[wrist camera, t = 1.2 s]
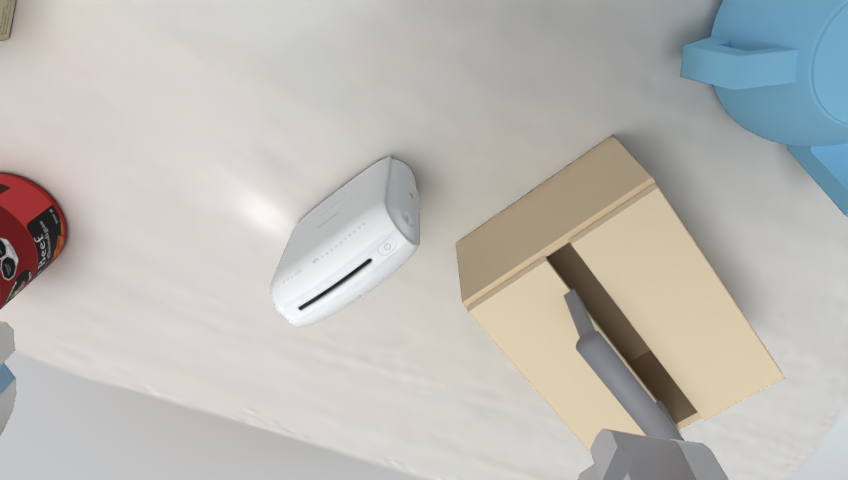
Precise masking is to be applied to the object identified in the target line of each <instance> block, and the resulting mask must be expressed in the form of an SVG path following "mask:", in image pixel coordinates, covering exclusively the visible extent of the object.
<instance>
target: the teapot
mask: <svg viewBox="0 0 848 480" xmlns="http://www.w3.org/2000/svg"><path fill="white" fill-rule="evenodd" d="M680 77H684V78H688V79H691V80H695V81H699V82H703V83H707V84H711V85H713V86H714V89H715V92H716V94H717V96H718V98H719V100H720V102H721V104H722V106H723V107H724V109H725V110H726V111H727V113H728V114H729V115H730V116H731V117H732V118H733V119H734V120H735V121H736V122H737V123H738V124H740V125H741V126H742V127H744V128H745V129H747V130H749V131H750V132H752V133H754V134H756V135H758V136H760V137H762V138H765V139H768V140H770V141H773V142H778V143H783V144H788V148H787V149H788V151H789V152H790V153H791V154H792V155H793V156H794V157H795V159H796V160H797V161H798V162H799V163H800V164H801V165H802V167H803V168H804V169H805V170H806V171H807V172H808V173H809V175H810V176H811V177H812V178H813V179H814V180H815V181H816V183H817V184H818V185H819V186H820V187H821V188H822V190H823V191H824V192H825V193H826V194H827V195H828V196H829V198H830V199H831V200H832V201H833V202H834V203H835V204H836V206H837V207H838V208H839V209H840V210H841V211H842V212H843V214H844V215H846V216H848V0H723V1H722V3H721V5H720V7H719V10H718V13H717V15H716V18H715V21H714V25H713V29H712V33H711V37H709V38H706V39H702V40H699V41H696V42H693V43H690V44H687V45H683V52H682V63H681V73H680Z"/></svg>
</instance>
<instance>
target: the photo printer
mask: <svg viewBox="0 0 848 480" xmlns="http://www.w3.org/2000/svg"><path fill="white" fill-rule="evenodd" d="M419 210H420V208H419V191H418V190H417V189H416V181H415V177H414V174H413V172H412V171H411V169H410V168H409V167H408V166H407V165H406V164H405V163H403V162H401V161H399V160H396V159H392V158H391V156H389V157H386V158H384V159H382V160H380V161H378V162H376V163H375V164H373V165H372V166H370V167H369V168H367V169H366V170H364V171H363V172H362V173H360V174H359V175H357V176H356V177H355V178H353V179H352V180H350V181H349V182H348V183H346V184H345V185H344V186H342V187H341V188H340V189H338V190H337V191H336V192H334V193H333V194H332V195H331V196H329V197H328V198H327V199H326V200H324V201H323V202H322V203H321V204H319V205H318V206H317V207H316V208H314V209H313V210H312V211H311V212H309V213H308V214H307V215H306V216H305V217H304V218H303V219H302V220H301V221H300V222H299V223H298V224H297V225H296V227H295V228H294V229H293V231H292V234H291V236H290V238H289V241H288V243H287V245H286V248H285V250H284V253H283V255H282V257H281V260H280V262H279V264H278V267H277V269H276V272H275V274H274V276H273V279H272V281H271V285H270V293H271V297H272V300H273V303H274V305H275V307H276V309H277V310H278V312H280V313H281V314H283V315H284V316H285V317H286V319H287V320H288V321H289V323H290V324H291V325H294V326H297V327H304V326H308V325H311V324H314V323H317V322H319V321H322V320H324V319H326V318H328V317H330V316H332V315H334V314H336V313H337V312H339V311H341V310H342V309H344V308H346V307H347V306H349V305H351V304H352V303H354V302H355V301H357V300H358V299H360V298H361V297H363V296H364V295H366V294H367V293H368V292H370V291H371V290H372V289H374V288H375V287H377V286H378V285H379V284H381V283H382V282H383V281H384V280H386V279H387V278H388V277H389V276H391V275H392V274H393V273H394V272H396V271H397V270H398V269H399V268H400V267H401V266H402V265H403V264H404V263H405V262H406V261H407V260H408V259H409V258H410V257H411V255H412V254H413V253H414V252H415V251H416V249H417V248H418V247H419V245H420V214H419V212H420V211H419Z"/></svg>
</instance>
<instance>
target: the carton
mask: <svg viewBox="0 0 848 480" xmlns="http://www.w3.org/2000/svg"><path fill="white" fill-rule="evenodd" d="M456 250H457V259H458V269H459V278H460V287H461V297H462V303H463V304H464V305H465V306H466V308H467V306H469V305H470V304H472V303H473V302H475V301H476V300H478V299H480V298H481V297H483V296H484V295H486V294H487V293H489V292H490V291H492V290H493V289H495V288H496V287H498V286H499V285H501V284H502V283H504V282H505V281H507V280H508V279H510V278H511V277H513V276H514V275H516V274H518V273H519V272H521V271H522V270H524V269H525V268H527V267H528V266H530V265H531V264H533V263H534V262H536V261H537V260H539V259H540V258H542V257H543V256H545V257H546V258H547V260H548V261H549V262H550V263H551V265H552V266H553V267H554V268H555V270H556V271H557V272H558V274H559V275H560V276H561V277H562V279H563V280H564V281H565V283H566V284H567V285H568V286H569V288H570V289H571V290H572V289H575V290H576V291H577V293H578V294H579V295H580V297H581V298H582V301H583V303H584V305H585V308H586V309H587V311H588V312H589V313H590V315H591V316H592V317H593V318H594V320H595V321H596V322H597V324H598V325H599V326H600V327H601V329H602V330H603V331H604V333H605V334H606V335H607V336H608V338H609V339H610V340H611V342H612V343H613V344H614V345H615V347H616V348H617V349H618V350H619V352H620V353H621V354H622V356H623V357H624V358H625V359H626V361H627V362H628V363H629V365H630V366H631V367H632V368H633V370H634V371H635V372H636V374H637V375H638V376H639V377H640V379H641V380H642V381H643V383H644V384H645V385H646V386H647V388H648V389H649V390H650V391H651V393H652V394H653V395H654V397H655V398H656V399H657V400H658V401H659V400H661V401H662V402H663V403H664V405H665V406H666V407H667V409H668V411H669V413H670V415H671V417H672V419H673V421H674V422H675V424H676V425H677V426H678V428H679V430H680V429H682V428H683V427H685V426H687V425H689V424H691V423H693V422H695V421H696V420H698V419H700V418H703V420H704V421H705V420H707V419H709V418H711V417H713V416H715V415H717V414H718V413H720V412H722V411H724V410H726V409H728V408H729V407H731V406H733V405H735V404H737V403H739V402H741V401H742V400H744V399H746V398H748V397H750V396H752V395H753V394H755V393H757V392H759V391H761V390H763V389H765V388H766V387H768V386H770V385H772V384H774V383H776V382H777V381H779V380H781V379H783V378H785V377H784V376H783V373H782V371H781V370H780V368H779V367H778V365H777V364H776V362H775V361H774V359H773V358H772V356H771V355H770V353H769V352H768V350H767V349H766V347H765V346H764V344H763V343H762V341H761V340H760V338H759V337H758V335H757V334H756V332H755V331H754V329H753V328H752V326H751V325H750V323H749V322H748V320H747V319H746V317H745V316H744V314H743V313H742V311H741V310H740V308H739V307H738V305H737V304H736V302H735V301H734V299H733V298H732V296H731V295H730V293H729V292H728V290H727V289H726V287H725V286H724V284H723V283H722V281H721V280H720V278H719V277H718V275H717V274H716V272H715V271H714V269H713V268H712V266H711V265H710V263H709V262H708V260H707V259H706V257H705V256H704V254H703V253H702V251H701V250H700V248H699V247H698V245H697V244H696V242H695V241H694V239H693V238H692V236H691V235H690V233H689V232H688V230H687V229H686V227H685V226H684V224H683V223H682V221H681V220H680V218H679V217H678V215H677V214H676V212H675V211H674V209H673V208H672V206H671V205H670V203H669V202H668V200H667V199H666V197H665V196H664V194H663V193H662V191H661V190H660V188H659V187H658V185H657V184H656V182H655V181H654V179H653V178H652V177H651V176H650V174H649V173H648V172H647V171H646V170H645V169H644V168H643V167H642V166H641V165H640V164H639V163H638V162H637V161H636V159H635V158H634V157H633V156H632V155H631V154H630V153H629V152H628V151H627V150H626V149H625V148H624V147H623V146H622V145H621V143H620V142H619V141H618V140H617V139H616V138H615V137H614V136H613V135H611V136H610V137H609V138H607V139H606V140H604V141H603V142H601V143H600V144H598V145H597V146H596V147H594V148H593V149H591V150H590V151H588V152H587V153H585V154H584V155H583V156H581V157H580V158H578V159H577V160H575V161H574V162H572V163H571V164H570V165H568V166H567V167H565V168H564V169H562V170H561V171H559V172H558V173H557V174H555V175H554V176H552V177H551V178H549V179H548V180H546V181H545V182H544V183H542V184H541V185H539V186H538V187H536V188H535V189H533V190H532V191H531V192H529V193H528V194H526V195H525V196H523V197H522V198H520V199H519V200H518V201H516V202H515V203H513V204H512V205H510V206H509V207H507V208H506V209H505V210H503V211H502V212H500V213H499V214H497V215H496V216H494V217H493V218H492V219H490V220H489V221H487V222H486V223H484V224H483V225H481V226H480V227H479V228H477V229H476V230H474V231H473V232H471V233H470V234H468V235H467V236H466V237H464V238H463V239H461V240H460V241H458V242H457V243H456Z"/></svg>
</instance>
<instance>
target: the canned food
mask: <svg viewBox="0 0 848 480" xmlns="http://www.w3.org/2000/svg"><path fill="white" fill-rule="evenodd" d="M65 238H66V224H65V219H64V217H63V214H62V212H61V210H60V208H59V207H58V205H57V203H56V202H55V201H54V200H53V198H52V197H51V196H50V195H49V194H48V193H47V192H46V191H45V190H43V189H42V188H41V187H40V186H38V185H36V184H35V183H33V182H31V181H30V180H27V179H25V178H22V177H20V176H16V175H12V174H2V173H0V309H1V308H3V307H4V306H5V305H6V304H7V303H8V302H9V301H10V300H11V299H13V298H14V297H15V296H16V295H17V294H18V293H19V292H20V291H21V290H22V289H24V288H25V287H26V286H27V285H28V284H29V283H30V282H31V281H32V280H33V279H35V278H36V277H37V276H38V275H39V274H40V273H41V272H42V271H43V270H44V269H46V268H47V267H48V266H49V265H50V264H51V263H52V262H53V261H54V260H55V259H56V258H57V257H58V256H59V254H60V252H61V250H62V248H63V245H64V242H65Z"/></svg>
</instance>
